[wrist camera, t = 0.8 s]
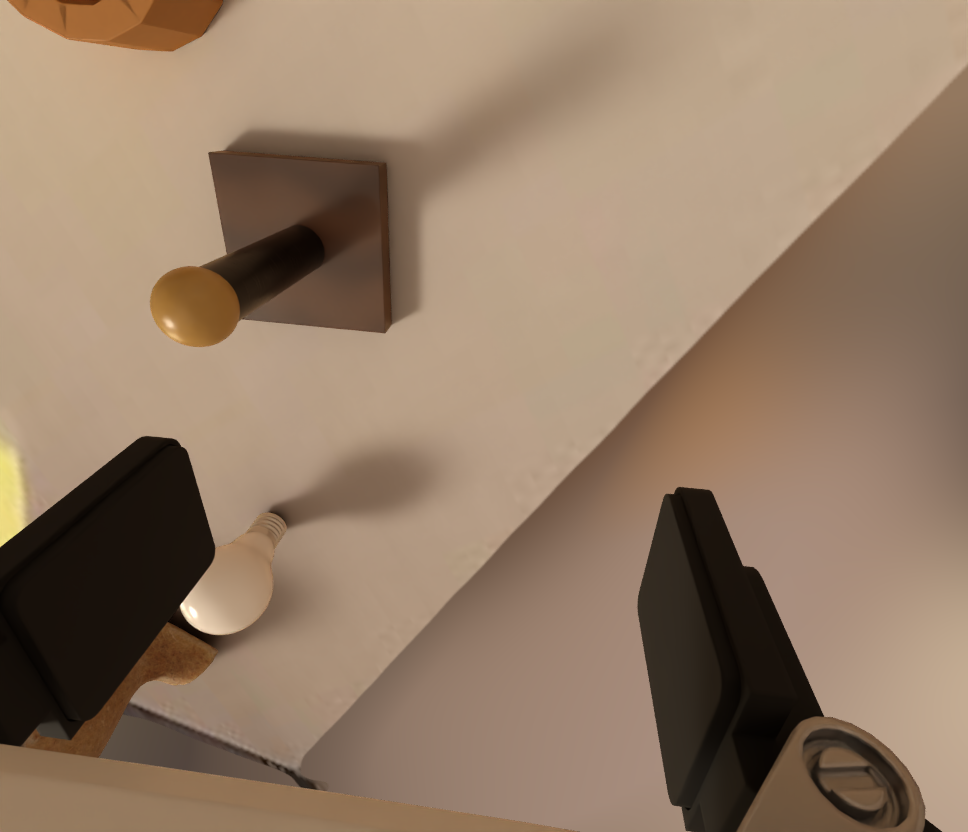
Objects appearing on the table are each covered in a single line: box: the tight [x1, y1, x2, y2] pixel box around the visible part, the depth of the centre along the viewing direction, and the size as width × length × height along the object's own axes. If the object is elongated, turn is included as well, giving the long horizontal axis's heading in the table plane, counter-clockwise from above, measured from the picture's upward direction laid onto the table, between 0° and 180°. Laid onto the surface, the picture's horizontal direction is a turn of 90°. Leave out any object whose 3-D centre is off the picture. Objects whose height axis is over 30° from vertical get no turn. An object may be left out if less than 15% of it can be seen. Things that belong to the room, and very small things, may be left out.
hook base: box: [208, 151, 392, 333], centre depth 33 cm, size 10×10×2 cm
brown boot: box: [26, 622, 218, 758], centre depth 50 cm, size 15×12×15 cm
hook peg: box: [150, 225, 324, 347], centre depth 27 cm, size 3×3×13 cm
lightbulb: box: [180, 513, 286, 635], centre depth 42 cm, size 6×6×11 cm
